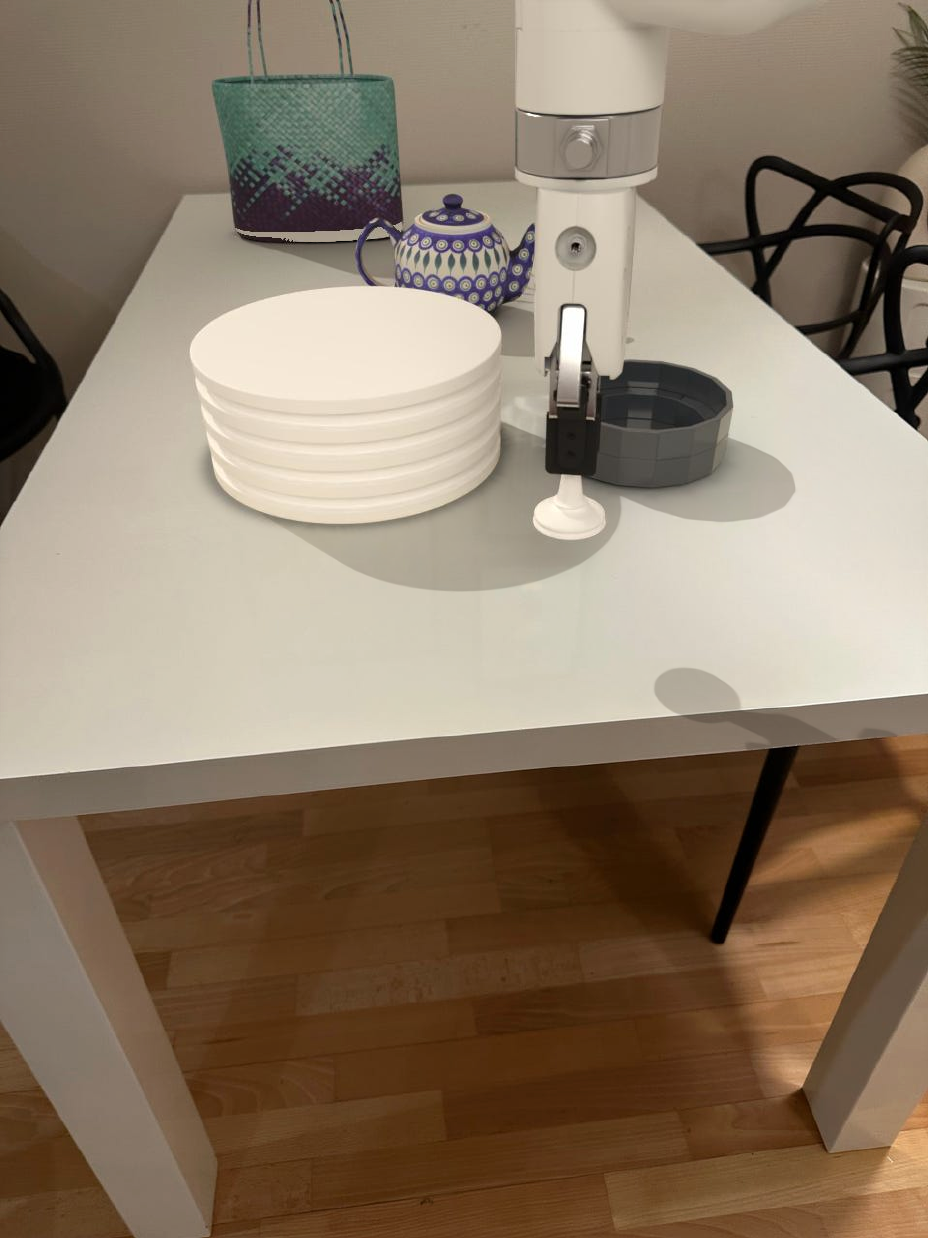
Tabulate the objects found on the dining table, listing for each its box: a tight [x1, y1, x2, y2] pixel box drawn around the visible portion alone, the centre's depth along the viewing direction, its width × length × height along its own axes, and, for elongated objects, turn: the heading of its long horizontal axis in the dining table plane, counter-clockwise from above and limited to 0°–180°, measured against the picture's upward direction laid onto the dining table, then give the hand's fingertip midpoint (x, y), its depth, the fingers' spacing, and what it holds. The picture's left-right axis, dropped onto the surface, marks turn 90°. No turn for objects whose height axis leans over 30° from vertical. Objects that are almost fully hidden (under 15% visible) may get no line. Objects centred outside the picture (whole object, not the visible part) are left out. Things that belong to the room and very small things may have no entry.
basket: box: [211, 0, 404, 243], centre depth 138 cm, size 28×12×40 cm, turn 88°
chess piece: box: [532, 385, 607, 541], centre depth 58 cm, size 5×5×10 cm
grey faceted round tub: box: [586, 358, 734, 489], centre depth 85 cm, size 16×16×6 cm
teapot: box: [354, 193, 535, 315], centre depth 114 cm, size 25×15×15 cm, turn 85°
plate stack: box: [189, 285, 503, 525], centre depth 85 cm, size 28×28×12 cm
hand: (572, 460), depth 58 cm, fingers closed on chess piece
